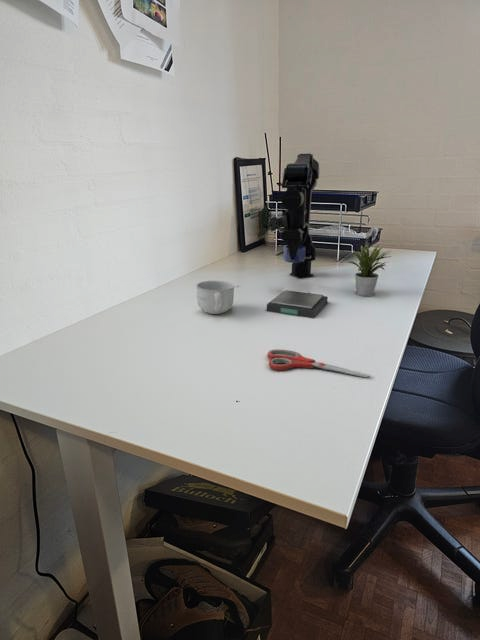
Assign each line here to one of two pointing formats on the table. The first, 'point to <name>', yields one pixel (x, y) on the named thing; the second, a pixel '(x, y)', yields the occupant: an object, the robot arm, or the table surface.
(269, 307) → the scale
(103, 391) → the table surface
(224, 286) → the teacup
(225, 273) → the table surface
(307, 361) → the scissors
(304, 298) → the scale pan
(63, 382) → the table surface
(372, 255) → the house plant
